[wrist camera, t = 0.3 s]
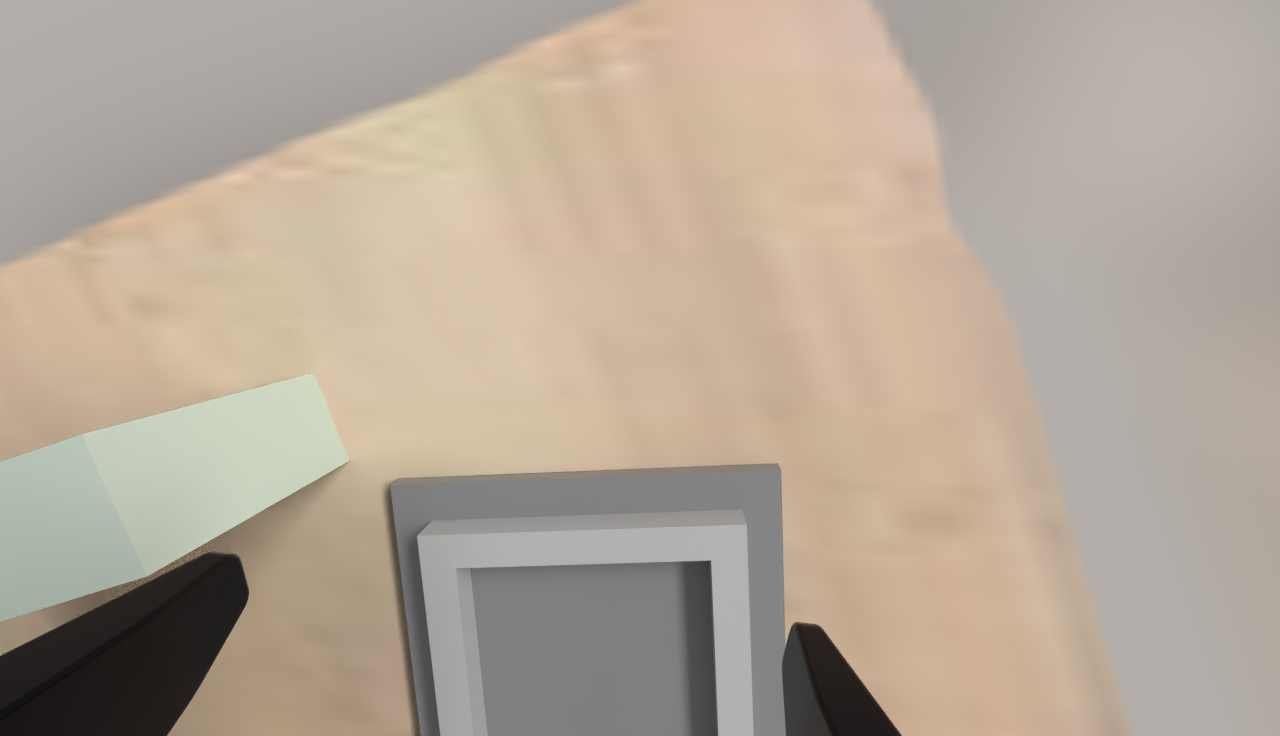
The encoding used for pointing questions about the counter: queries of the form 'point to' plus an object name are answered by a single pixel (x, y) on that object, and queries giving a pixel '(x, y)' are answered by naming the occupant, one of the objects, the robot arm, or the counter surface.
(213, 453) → the rectangular block
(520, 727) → the charging dock
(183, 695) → the robot arm
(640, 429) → the counter surface
